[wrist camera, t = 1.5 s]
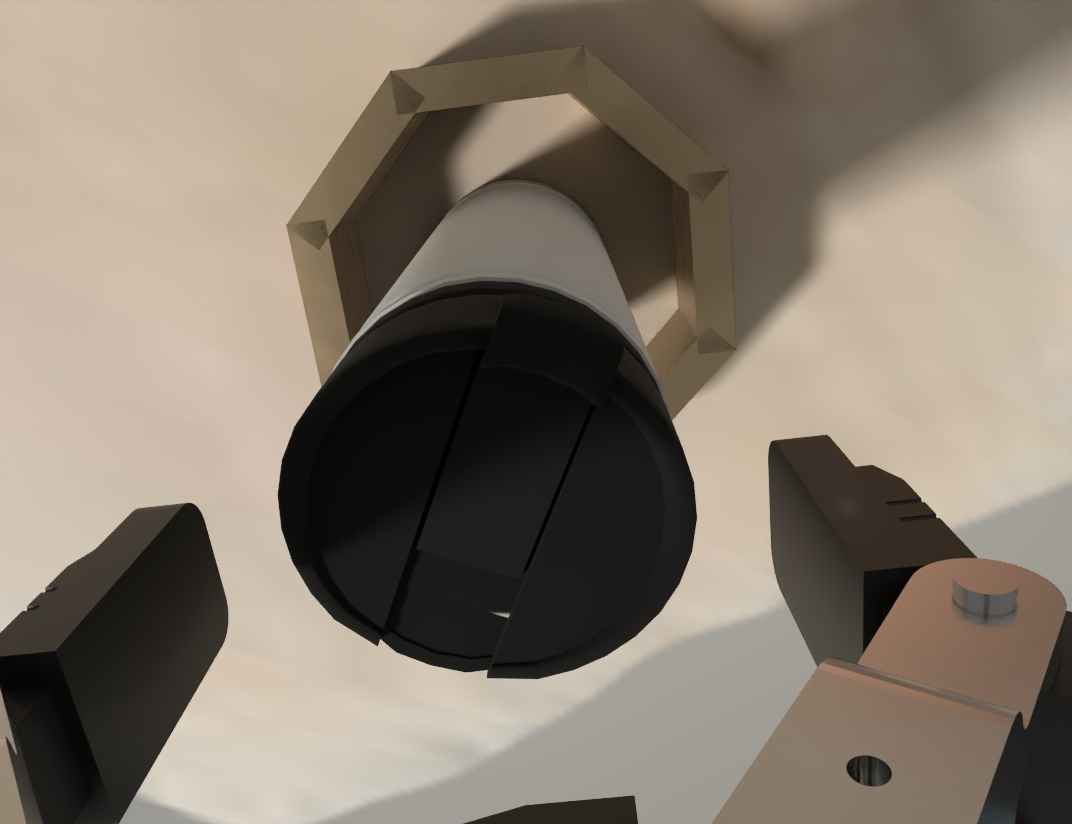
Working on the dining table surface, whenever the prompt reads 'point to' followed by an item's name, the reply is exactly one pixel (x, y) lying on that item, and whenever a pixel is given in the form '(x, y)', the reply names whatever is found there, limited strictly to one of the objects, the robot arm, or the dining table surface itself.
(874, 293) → the dining table surface
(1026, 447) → the dining table surface
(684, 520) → the travel mug
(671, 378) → the collar ring
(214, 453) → the dining table surface
